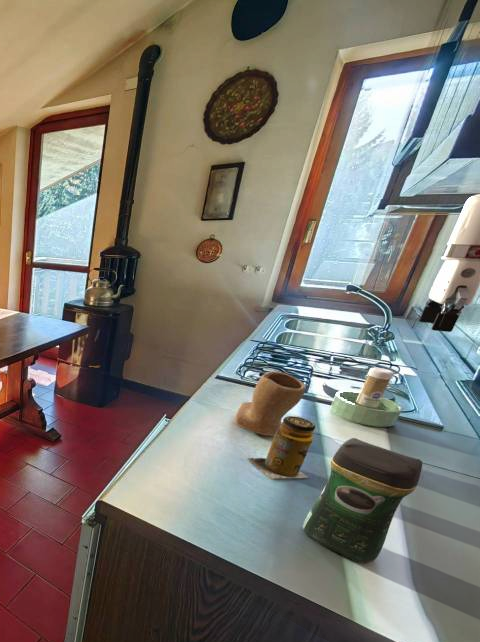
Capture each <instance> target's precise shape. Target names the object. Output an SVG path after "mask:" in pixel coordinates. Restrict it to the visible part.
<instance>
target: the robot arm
mask: <svg viewBox="0 0 480 642" xmlns="http://www.w3.org/2000/svg"><path fill="white" fill-rule="evenodd" d="M440 259H441V260H444V262H443V264H442V265H441V267H440V269H439V271H438V273H437V275H436V277H435V279H434V281H433V283H432V286H431V288H430V290H429V293H428V300H427V301H426V302H425V306H424V308H423V310H422V311H421V314H420V316H419V319H418V322H420V323H426V324H432V326H431V331H435V332H436V331H437V332H444V333H445V332H446V333H450V332H452V331H453V330H454V327H455V326H456V324H457V321H458V320H459V317H460V315H461V314H462V311H463V309H465V307H467V306H470V305H472V303H473V301H474V300H475V299H474V298H475V296H476V294H477V292H478V290H479V287H480V193H479V194H474V195H472V196H470V197H469V198H468V199H467V200H466V201H465V203H464V205H463V208H462V210H461V212H460V214H459V217H458V219H457V221H456V223H455V225H454V228H453V230H452V232H451V235H450V237H449V240H448V241H447V244H446V246H445V248H444V250H443V252H442V254H441V257H440Z"/></svg>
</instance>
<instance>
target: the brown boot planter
mask: <svg viewBox="0 0 480 642" xmlns="http://www.w3.org/2000/svg"><path fill="white" fill-rule="evenodd" d="M306 390H307V387H306V385H305V384H304V383H303V381H301V380H300V379H298V378H297V377H295V376H292V375H291V374H288V373H285V372H281V371H267V372H265V373H264V374H262V375H261V377H260V378H259V379H258V381H257V383H256V386H255V387H254V389H253V392H252V398H251V399H252V400H251V401H244V402H242V403H241V404H240V406H239V407H238V409H237V411H236V413H235V416H234V424H235V425H236V426H238V427H239V428H241V429H243V430H245V431H248V432H252V433H254V434H258V435H261V436H268V437H272V436H273V437H274V436H275V434H276V431H277V429H278V428H279V427H280V426H281V424H282V420H283V418H284V416H285V415H286V414H287V413H288V412H290V411H291V410H292V409H294V408H295V406H297V405H298V403H299V402H301V400H302V398H303V396H304V395H305V394H306Z"/></svg>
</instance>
